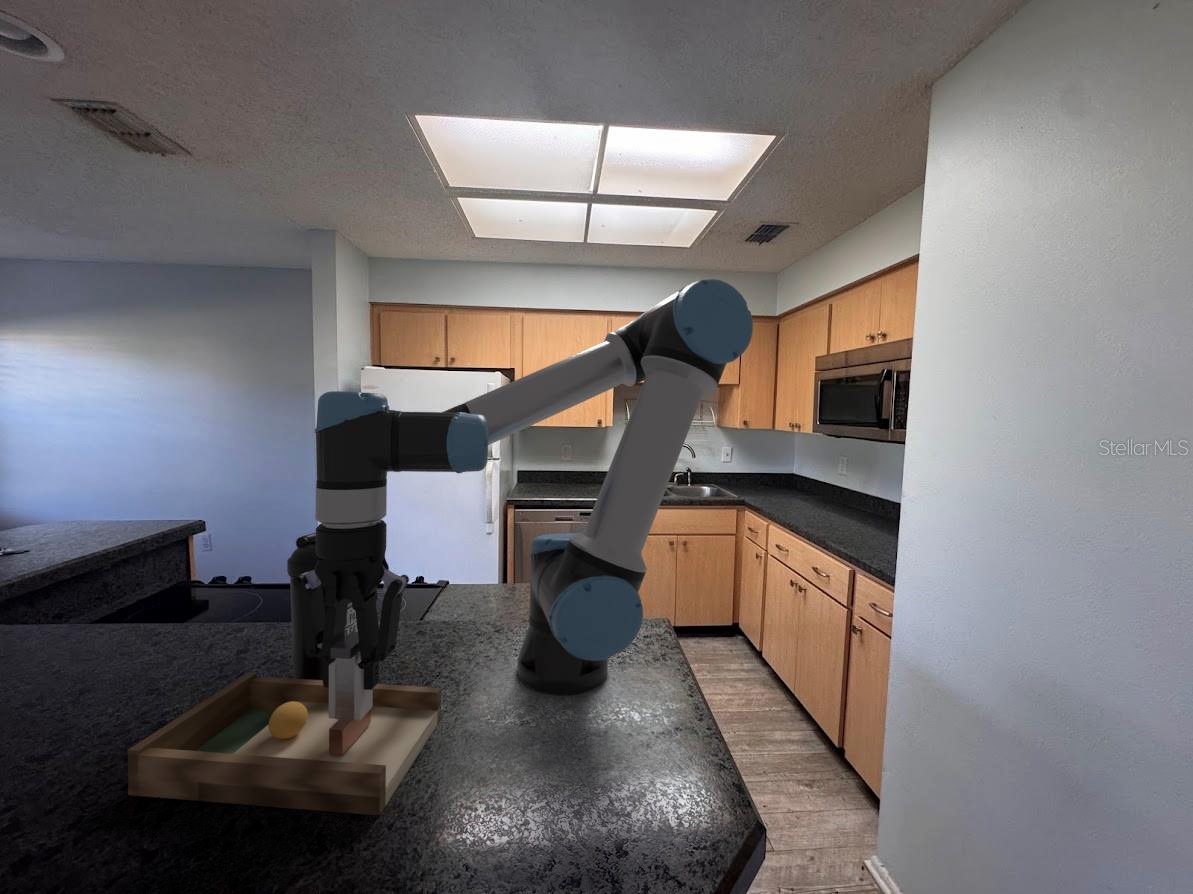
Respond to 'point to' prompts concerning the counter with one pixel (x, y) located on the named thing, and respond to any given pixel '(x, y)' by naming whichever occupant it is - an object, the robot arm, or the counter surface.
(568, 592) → the robot arm
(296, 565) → the water bottle
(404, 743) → the lane
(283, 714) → the ball
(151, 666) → the counter surface
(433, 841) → the counter surface
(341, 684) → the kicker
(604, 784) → the counter surface
